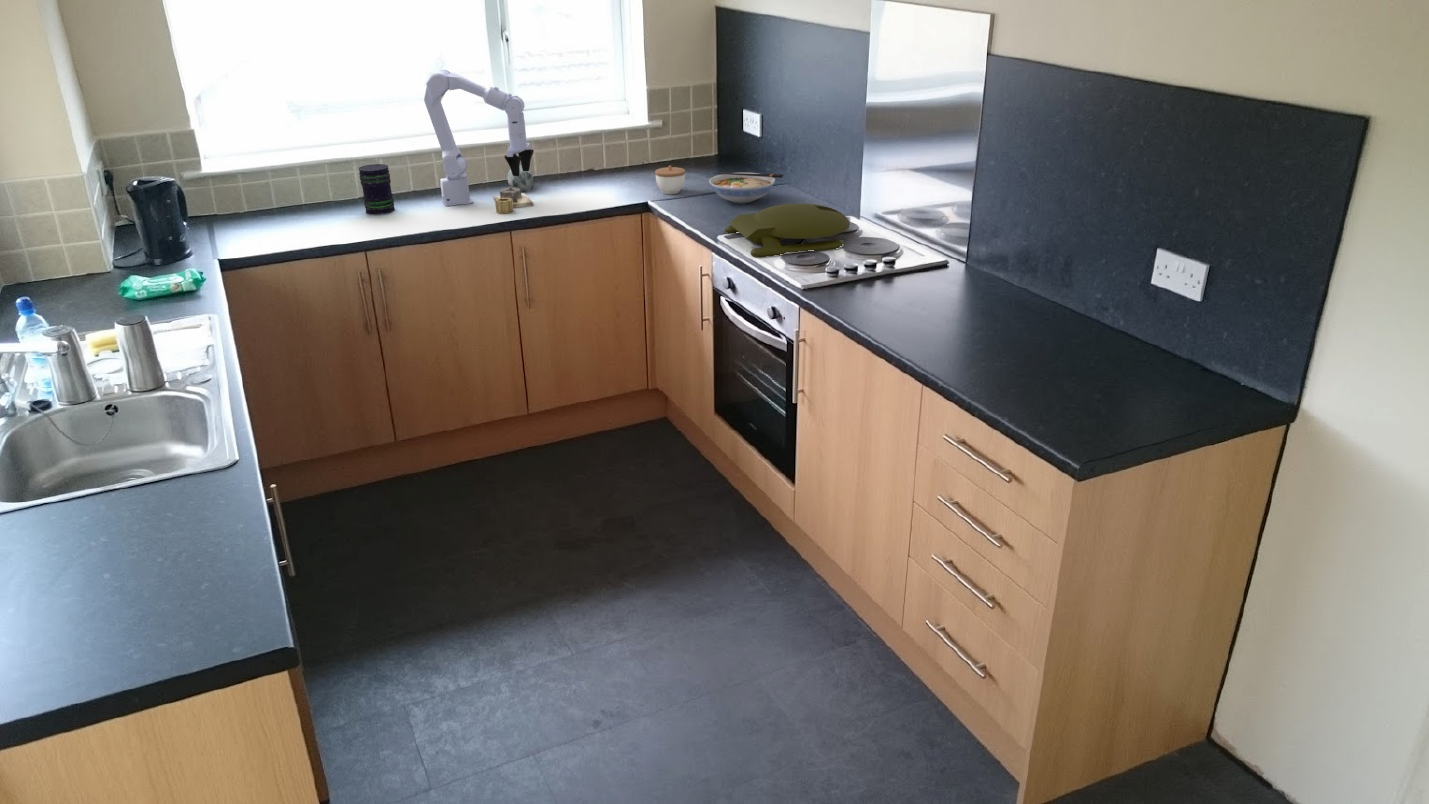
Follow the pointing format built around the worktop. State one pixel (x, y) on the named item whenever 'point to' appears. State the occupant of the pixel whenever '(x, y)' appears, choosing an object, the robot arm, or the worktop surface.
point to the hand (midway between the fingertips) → (521, 173)
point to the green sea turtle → (790, 228)
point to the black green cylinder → (376, 189)
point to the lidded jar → (670, 179)
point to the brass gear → (504, 205)
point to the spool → (521, 180)
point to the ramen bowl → (742, 186)
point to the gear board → (520, 201)
